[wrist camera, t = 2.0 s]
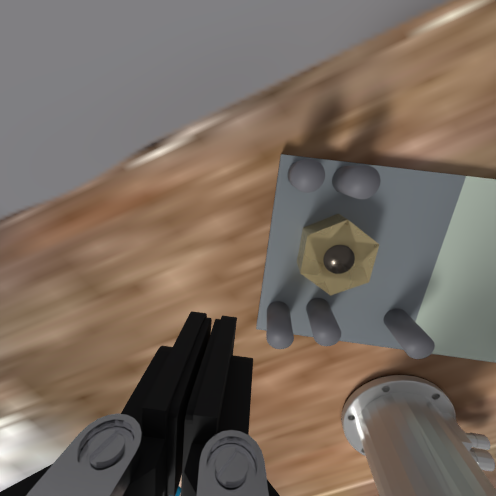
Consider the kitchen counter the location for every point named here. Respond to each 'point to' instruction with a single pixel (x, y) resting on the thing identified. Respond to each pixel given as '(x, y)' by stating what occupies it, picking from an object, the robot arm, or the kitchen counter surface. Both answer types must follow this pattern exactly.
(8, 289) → the kitchen counter surface
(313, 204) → the spacer board
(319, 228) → the nut
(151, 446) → the robot arm
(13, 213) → the kitchen counter surface
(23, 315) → the kitchen counter surface
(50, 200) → the kitchen counter surface
